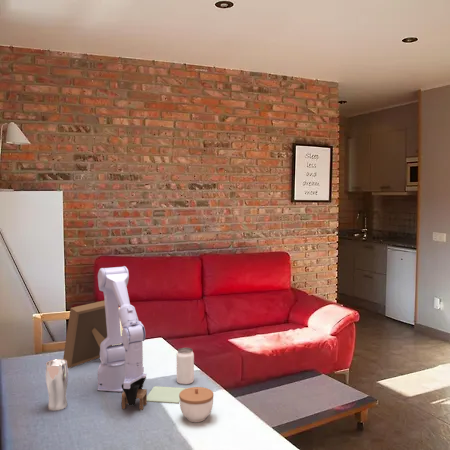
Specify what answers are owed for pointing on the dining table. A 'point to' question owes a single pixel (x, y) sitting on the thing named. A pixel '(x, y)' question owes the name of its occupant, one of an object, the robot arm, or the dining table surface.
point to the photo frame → (85, 333)
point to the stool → (140, 394)
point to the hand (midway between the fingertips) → (134, 401)
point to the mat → (164, 394)
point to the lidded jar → (196, 403)
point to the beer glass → (57, 383)
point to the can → (185, 366)
